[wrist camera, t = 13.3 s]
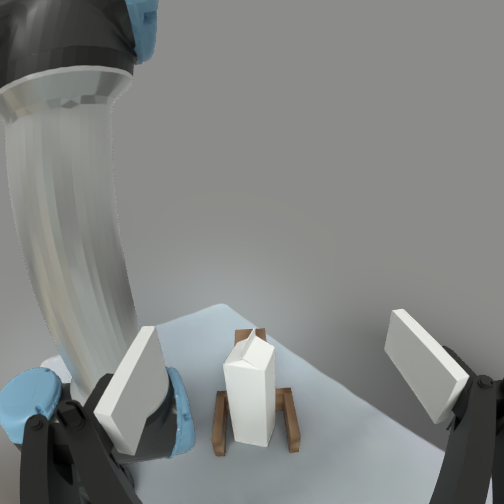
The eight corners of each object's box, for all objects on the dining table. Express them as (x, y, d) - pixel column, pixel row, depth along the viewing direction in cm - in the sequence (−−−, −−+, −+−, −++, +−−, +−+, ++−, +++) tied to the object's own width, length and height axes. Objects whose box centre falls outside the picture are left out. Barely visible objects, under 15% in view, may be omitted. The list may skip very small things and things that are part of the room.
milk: (275, 424, 44) (276, 328, 39) (267, 448, 39) (265, 352, 33) (244, 419, 46) (235, 324, 40) (233, 441, 40) (220, 345, 35)
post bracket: (216, 455, 37) (198, 389, 33) (221, 397, 52) (210, 330, 48) (298, 451, 37) (305, 384, 33) (287, 394, 52) (289, 326, 48)
